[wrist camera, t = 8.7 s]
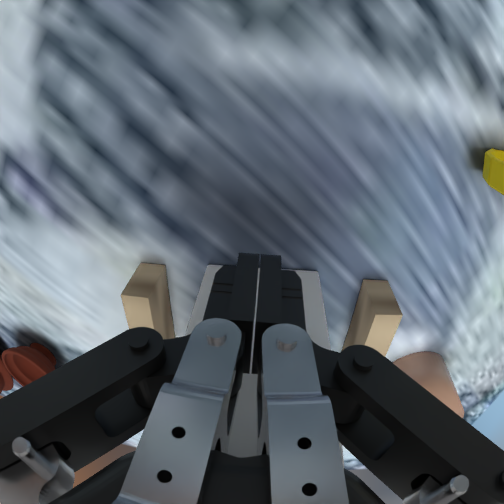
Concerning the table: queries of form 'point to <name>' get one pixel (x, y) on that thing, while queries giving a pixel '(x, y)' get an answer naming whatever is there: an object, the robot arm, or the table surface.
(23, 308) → the table surface
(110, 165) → the table surface
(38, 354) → the pottery
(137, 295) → the display frame
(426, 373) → the peach rounded capsule
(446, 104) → the table surface
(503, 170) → the watch
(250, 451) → the milk
